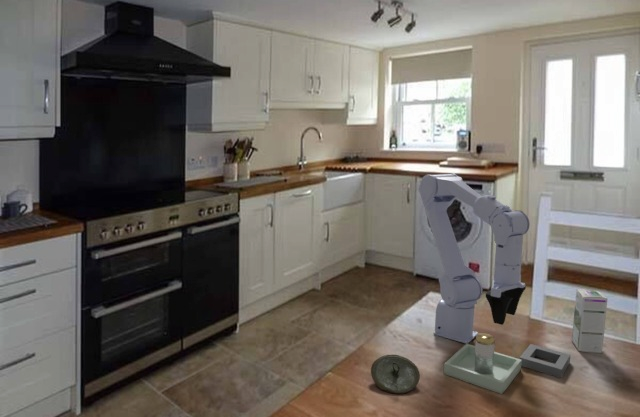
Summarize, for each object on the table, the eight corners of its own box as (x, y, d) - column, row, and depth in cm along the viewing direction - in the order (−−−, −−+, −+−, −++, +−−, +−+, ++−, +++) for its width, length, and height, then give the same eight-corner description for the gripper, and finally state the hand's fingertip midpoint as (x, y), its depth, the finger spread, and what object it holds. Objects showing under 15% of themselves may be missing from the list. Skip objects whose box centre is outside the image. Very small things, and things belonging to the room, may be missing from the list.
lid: (414, 371, 110) (415, 350, 109) (423, 395, 100) (424, 373, 99) (368, 370, 110) (369, 350, 109) (372, 394, 100) (373, 372, 99)
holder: (518, 365, 112) (519, 357, 112) (529, 351, 119) (530, 343, 119) (560, 377, 107) (561, 369, 107) (569, 362, 114) (570, 354, 114)
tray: (443, 373, 108) (444, 363, 108) (466, 353, 118) (466, 343, 118) (502, 394, 100) (503, 383, 100) (520, 369, 110) (521, 359, 110)
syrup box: (603, 353, 119) (609, 297, 116) (577, 351, 120) (583, 295, 117) (594, 343, 124) (601, 290, 122) (570, 341, 125) (575, 288, 123)
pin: (471, 371, 109) (473, 338, 107) (477, 363, 112) (479, 331, 110) (489, 376, 106) (491, 342, 105) (494, 368, 110) (497, 336, 108)
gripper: (515, 272, 103) (511, 332, 105) (535, 259, 114) (531, 313, 116) (482, 267, 108) (479, 324, 110) (505, 254, 119) (502, 307, 121)
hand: (504, 318), depth 114 cm, fingers open, 7 cm apart
